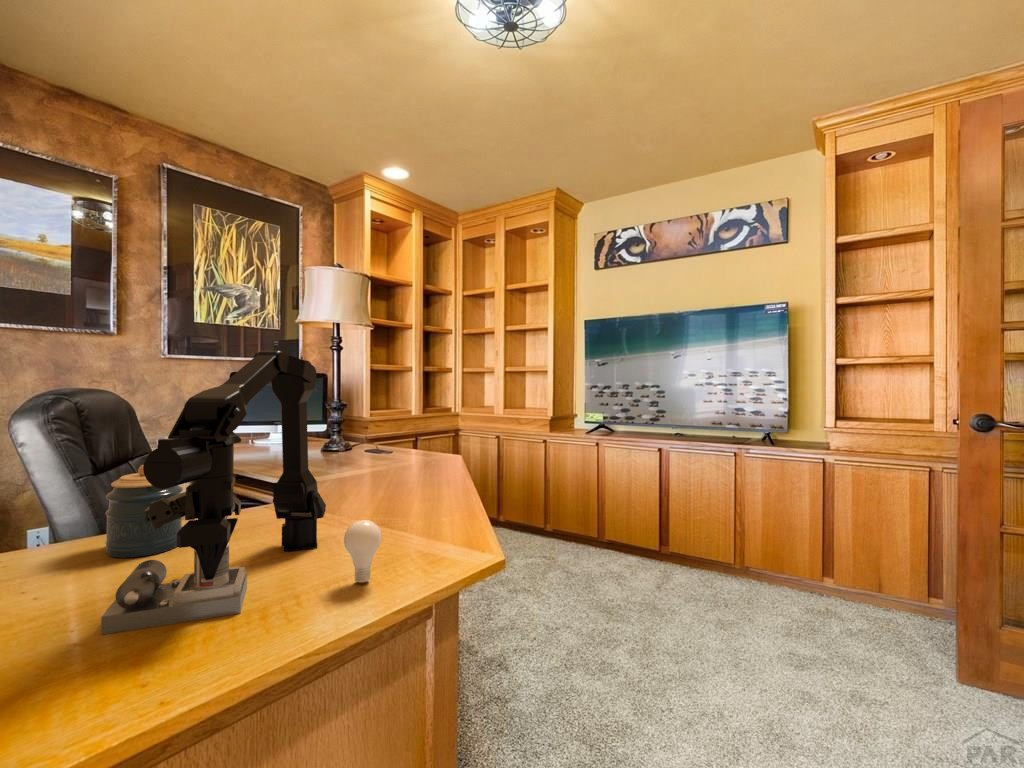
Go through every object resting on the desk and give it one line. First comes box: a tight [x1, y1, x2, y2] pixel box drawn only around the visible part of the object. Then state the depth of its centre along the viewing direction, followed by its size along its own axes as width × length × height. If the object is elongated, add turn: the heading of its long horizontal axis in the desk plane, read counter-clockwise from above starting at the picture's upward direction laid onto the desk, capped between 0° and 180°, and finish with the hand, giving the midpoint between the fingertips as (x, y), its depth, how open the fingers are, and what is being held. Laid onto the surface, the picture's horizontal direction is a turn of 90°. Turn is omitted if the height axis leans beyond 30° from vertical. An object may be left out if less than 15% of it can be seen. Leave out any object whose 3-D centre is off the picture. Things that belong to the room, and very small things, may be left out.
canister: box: [104, 464, 184, 559], centre depth 103 cm, size 13×13×18 cm
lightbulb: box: [343, 519, 382, 584], centre depth 87 cm, size 6×6×11 cm
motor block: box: [100, 559, 248, 636], centre depth 76 cm, size 17×11×7 cm, turn 113°
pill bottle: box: [193, 541, 230, 589], centre depth 78 cm, size 5×5×8 cm
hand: (212, 573), depth 78 cm, fingers closed on pill bottle, 5 cm apart
